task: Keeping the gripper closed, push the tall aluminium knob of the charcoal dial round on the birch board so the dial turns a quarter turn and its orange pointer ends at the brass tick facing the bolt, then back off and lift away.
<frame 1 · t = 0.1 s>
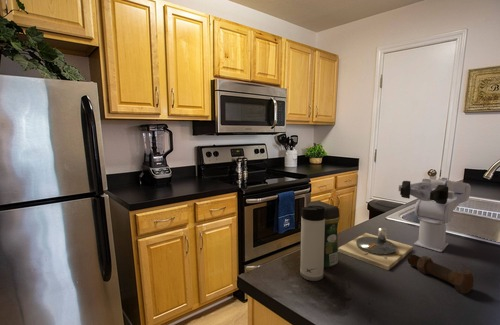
hand: (415, 193, 76), 22 cm above the worktop, tool horizontal, fingers open, 7 cm apart
dial: (376, 239, 87), point 4 cm above the worktop, hinge at 0.0°
bolt: (435, 278, 71), on the worktop
coffee jar: (321, 261, 80), on the worktop
travel mug: (312, 276, 72), on the worktop
board: (375, 250, 87), on the worktop
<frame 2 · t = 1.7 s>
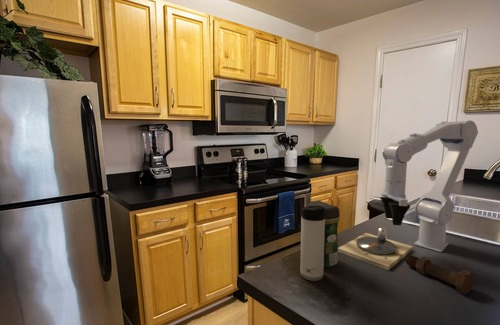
hand: (393, 221, 85), 10 cm above the worktop, tool pointing down, fingers open, 6 cm apart
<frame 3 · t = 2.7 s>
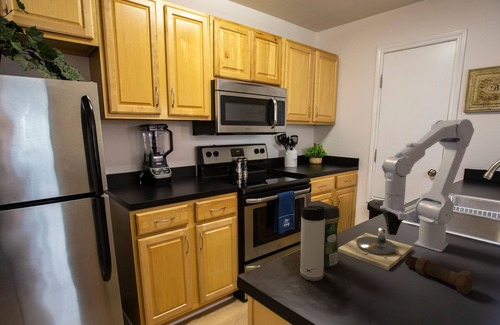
hand: (392, 234, 86), 6 cm above the worktop, tool pointing down, fingers closed
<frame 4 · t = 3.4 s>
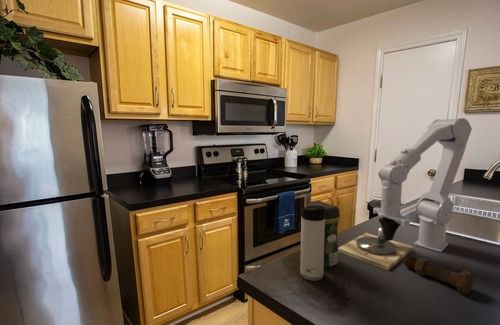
hand: (388, 240, 87), 3 cm above the worktop, tool pointing down, fingers closed, pressing on dial
dial: (376, 239, 87), point 4 cm above the worktop, hinge at 0.0°, touching gripper
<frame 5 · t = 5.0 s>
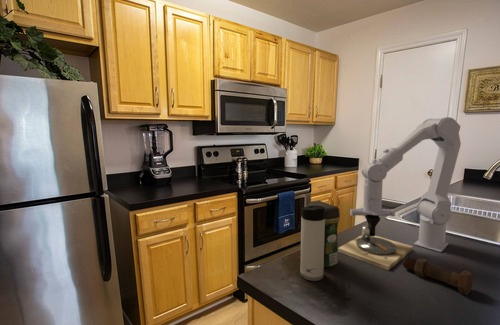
hand: (371, 235, 92), 3 cm above the worktop, tool pointing down, fingers closed, pressing on dial
dial: (375, 239, 87), point 4 cm above the worktop, hinge at 62.4°, touching gripper
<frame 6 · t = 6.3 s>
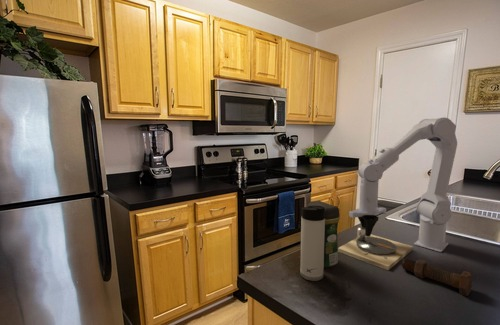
hand: (366, 235, 92), 3 cm above the worktop, tool pointing down, fingers closed
dial: (375, 239, 87), point 4 cm above the worktop, hinge at 90.2°, touching gripper
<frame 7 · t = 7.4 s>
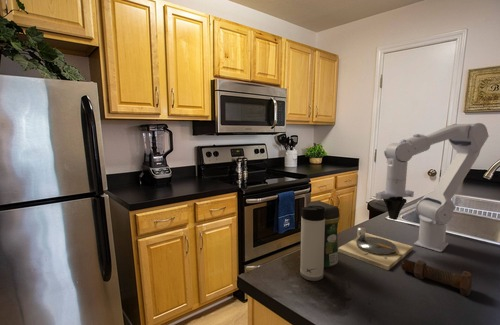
hand: (393, 218, 88), 10 cm above the worktop, tool pointing down, fingers closed
dial: (375, 239, 87), point 4 cm above the worktop, hinge at 90.3°
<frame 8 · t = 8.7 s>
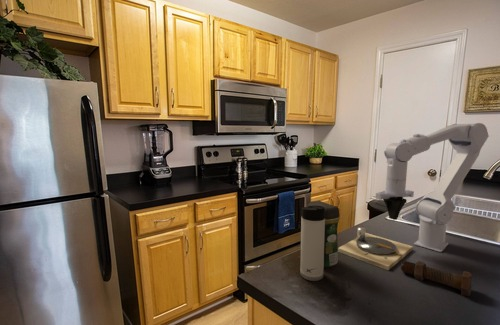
hand: (393, 218, 88), 10 cm above the worktop, tool pointing down, fingers closed
at the end: dial at +90° (first picture: +0°) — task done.
